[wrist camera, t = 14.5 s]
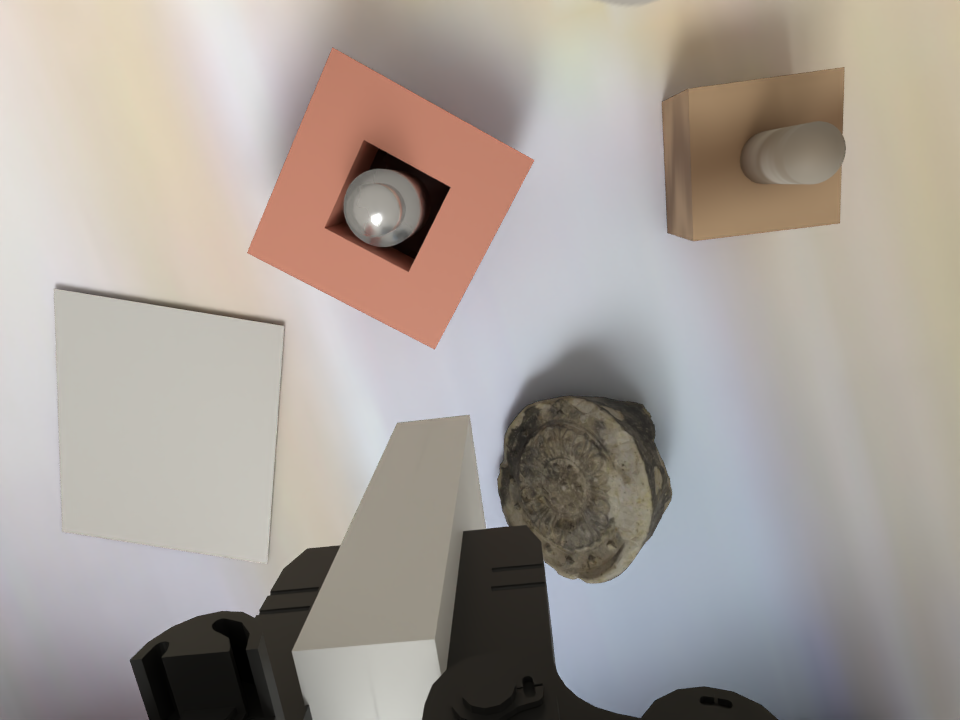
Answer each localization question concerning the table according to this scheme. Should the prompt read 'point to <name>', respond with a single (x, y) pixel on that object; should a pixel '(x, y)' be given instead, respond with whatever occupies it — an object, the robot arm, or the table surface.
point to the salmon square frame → (350, 152)
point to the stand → (754, 155)
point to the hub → (393, 204)
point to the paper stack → (166, 425)
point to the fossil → (584, 482)
